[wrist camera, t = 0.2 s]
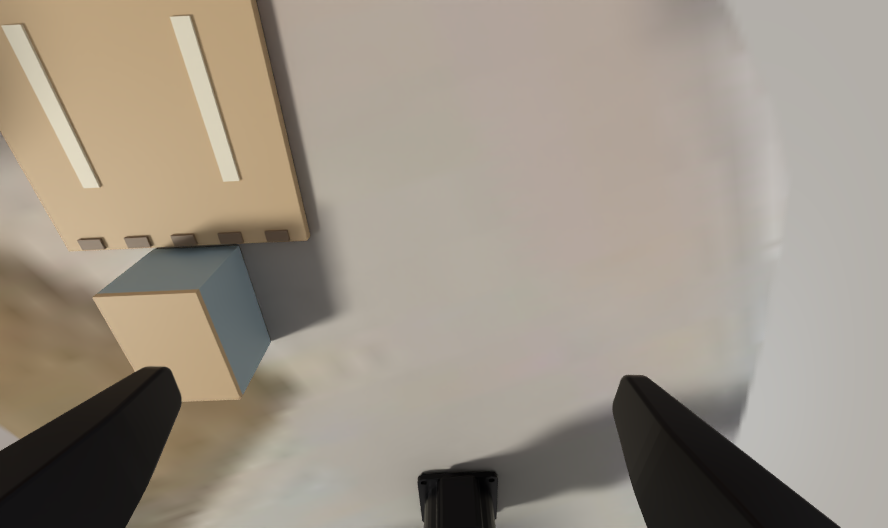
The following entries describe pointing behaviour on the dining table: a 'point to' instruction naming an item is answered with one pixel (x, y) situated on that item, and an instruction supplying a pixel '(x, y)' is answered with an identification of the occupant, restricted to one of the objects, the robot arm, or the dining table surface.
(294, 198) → the pad
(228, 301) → the stub
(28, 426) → the dining table surface
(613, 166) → the dining table surface
